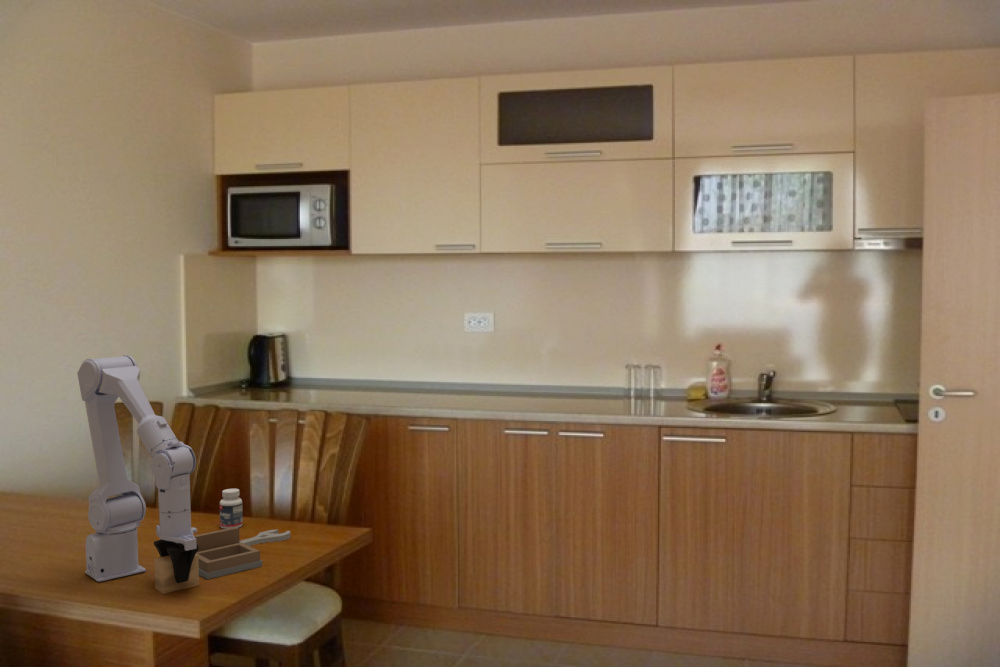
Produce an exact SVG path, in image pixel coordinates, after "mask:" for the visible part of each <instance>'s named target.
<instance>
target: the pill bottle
mask: <svg viewBox="0 0 1000 667" xmlns="http://www.w3.org/2000/svg"><path fill="white" fill-rule="evenodd" d="M240 493H241V492H240V489H239V488H227V489H223V490H222V493H221V495H222V496H221V497H222V499H221V500H220V501H219V527H220V528H221V529H222V530H224V529H229V528H233V527H238V528H239V529H240V528H241V527H242V526H243V524H244V519H243V518H244V517H243V513H244V512H243V500H242V498H241V497H240Z"/></svg>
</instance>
